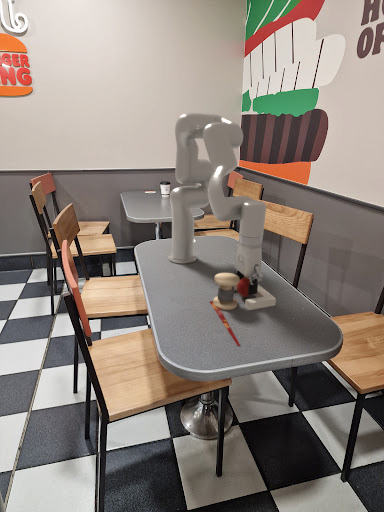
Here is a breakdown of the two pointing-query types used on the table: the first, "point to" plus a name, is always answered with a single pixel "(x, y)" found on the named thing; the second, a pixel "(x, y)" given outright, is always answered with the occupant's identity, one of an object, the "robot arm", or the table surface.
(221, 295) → the spool
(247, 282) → the onion
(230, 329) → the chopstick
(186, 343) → the table surface
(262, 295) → the notch board
